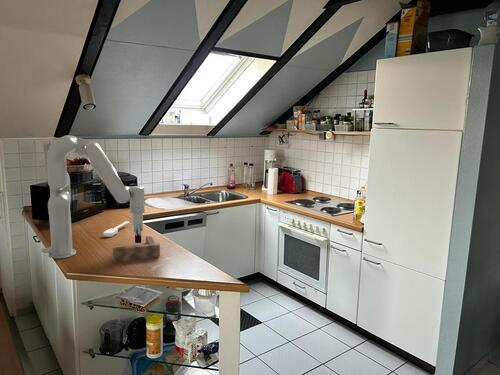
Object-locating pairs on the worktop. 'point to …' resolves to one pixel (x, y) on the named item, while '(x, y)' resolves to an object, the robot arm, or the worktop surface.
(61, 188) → the robot arm
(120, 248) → the brown angled block
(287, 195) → the worktop surface
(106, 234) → the white toy guitar
